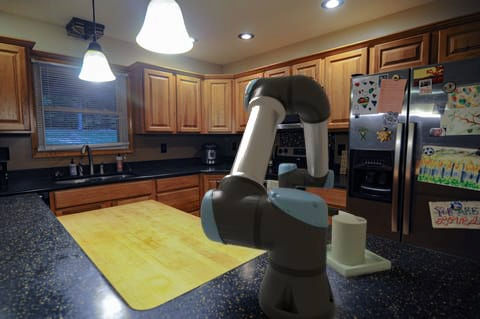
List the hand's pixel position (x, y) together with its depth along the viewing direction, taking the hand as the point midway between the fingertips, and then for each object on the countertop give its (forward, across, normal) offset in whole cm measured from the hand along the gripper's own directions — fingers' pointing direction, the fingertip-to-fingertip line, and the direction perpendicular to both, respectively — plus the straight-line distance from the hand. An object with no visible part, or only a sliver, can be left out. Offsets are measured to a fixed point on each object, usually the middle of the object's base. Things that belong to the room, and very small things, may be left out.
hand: (335, 221), depth 79 cm
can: (+6, +1, -9) cm, 11 cm away
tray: (+6, 0, -10) cm, 11 cm away
